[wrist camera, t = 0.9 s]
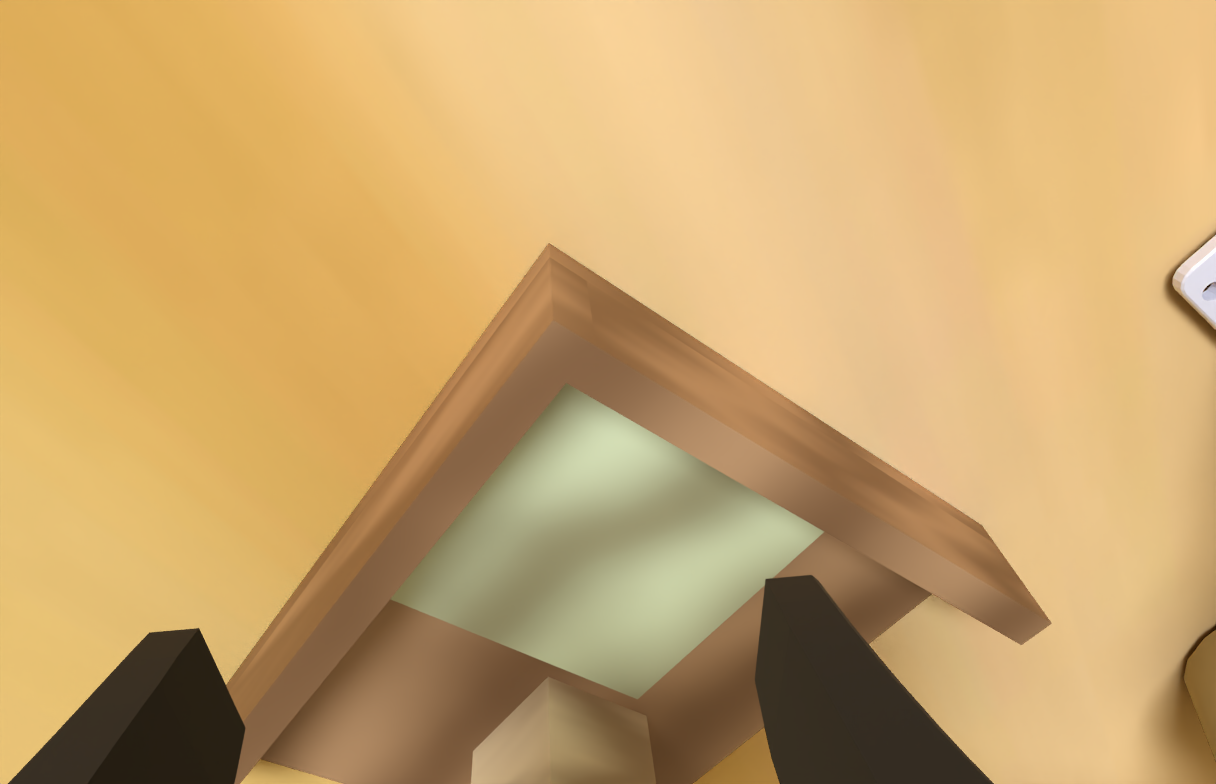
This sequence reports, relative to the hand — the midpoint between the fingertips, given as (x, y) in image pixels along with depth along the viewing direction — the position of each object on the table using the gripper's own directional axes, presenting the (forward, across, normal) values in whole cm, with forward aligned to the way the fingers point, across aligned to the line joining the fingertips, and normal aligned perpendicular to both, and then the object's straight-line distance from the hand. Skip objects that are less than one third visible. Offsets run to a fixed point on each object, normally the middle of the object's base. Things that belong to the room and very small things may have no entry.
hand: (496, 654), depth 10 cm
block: (+9, 0, +16) cm, 18 cm away
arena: (+10, -1, +11) cm, 15 cm away
